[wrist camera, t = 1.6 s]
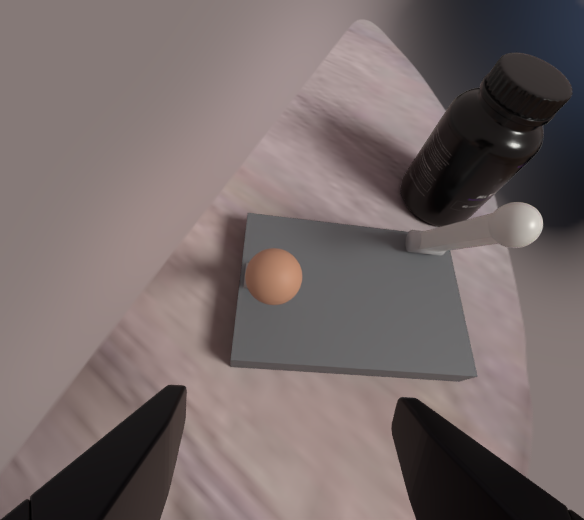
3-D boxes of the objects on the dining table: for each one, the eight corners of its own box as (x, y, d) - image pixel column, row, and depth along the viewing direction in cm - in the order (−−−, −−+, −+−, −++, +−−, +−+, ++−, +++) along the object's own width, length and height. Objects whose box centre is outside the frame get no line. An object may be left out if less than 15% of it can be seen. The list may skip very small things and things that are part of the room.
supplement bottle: (463, 242, 29) (592, 130, 19) (389, 210, 30) (475, 83, 19) (473, 187, 33) (587, 67, 22) (407, 159, 33) (488, 28, 23)
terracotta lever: (280, 295, 22) (306, 310, 12) (243, 292, 22) (239, 304, 12) (283, 262, 22) (311, 249, 12) (246, 258, 22) (245, 241, 12)
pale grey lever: (434, 260, 26) (556, 248, 16) (404, 256, 25) (508, 242, 15) (436, 231, 26) (558, 200, 16) (406, 227, 25) (510, 194, 15)
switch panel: (459, 381, 23) (477, 376, 22) (230, 366, 21) (230, 360, 20) (433, 249, 28) (447, 236, 27) (246, 227, 26) (247, 212, 25)
